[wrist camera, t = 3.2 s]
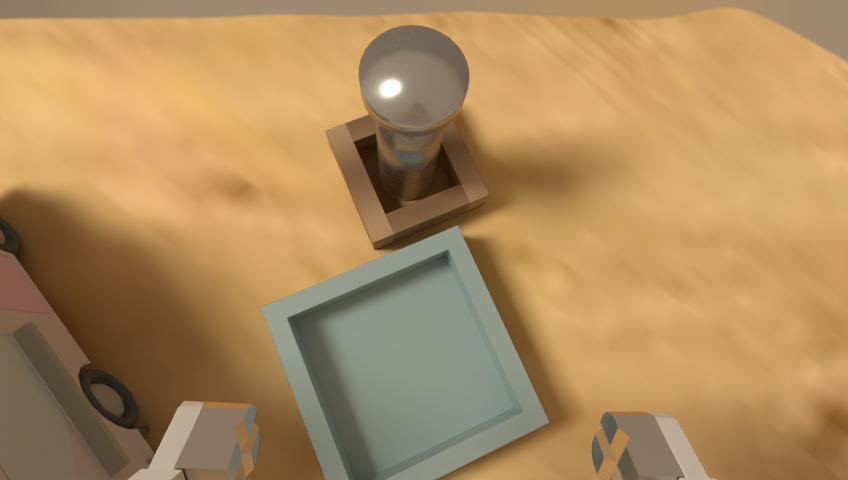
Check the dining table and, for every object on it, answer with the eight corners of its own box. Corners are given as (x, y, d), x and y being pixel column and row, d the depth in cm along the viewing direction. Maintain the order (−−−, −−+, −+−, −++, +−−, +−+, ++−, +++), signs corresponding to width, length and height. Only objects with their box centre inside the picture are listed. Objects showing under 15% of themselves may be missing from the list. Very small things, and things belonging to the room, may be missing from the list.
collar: (482, 204, 29) (489, 194, 27) (374, 249, 28) (373, 242, 26) (435, 105, 30) (438, 88, 28) (329, 145, 29) (325, 130, 27)
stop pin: (451, 193, 29) (487, 102, 18) (387, 219, 28) (385, 141, 18) (423, 132, 30) (441, 11, 19) (360, 157, 29) (341, 46, 18)
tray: (535, 415, 26) (549, 422, 24) (347, 508, 25) (342, 526, 22) (452, 235, 28) (457, 225, 26) (272, 311, 27) (260, 307, 24)
